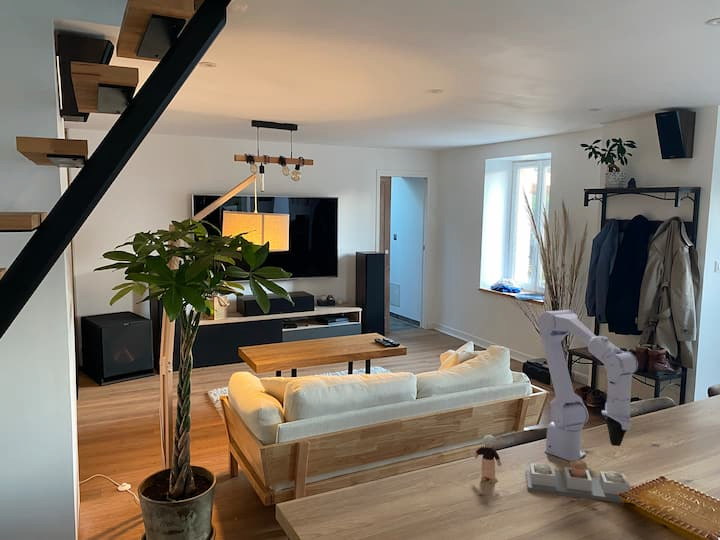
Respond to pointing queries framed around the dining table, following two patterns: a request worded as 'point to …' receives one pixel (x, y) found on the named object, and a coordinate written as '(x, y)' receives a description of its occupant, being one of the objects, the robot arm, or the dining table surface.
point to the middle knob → (578, 468)
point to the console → (576, 484)
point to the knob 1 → (542, 468)
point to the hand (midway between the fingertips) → (615, 444)
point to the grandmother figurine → (488, 459)
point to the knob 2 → (614, 476)
